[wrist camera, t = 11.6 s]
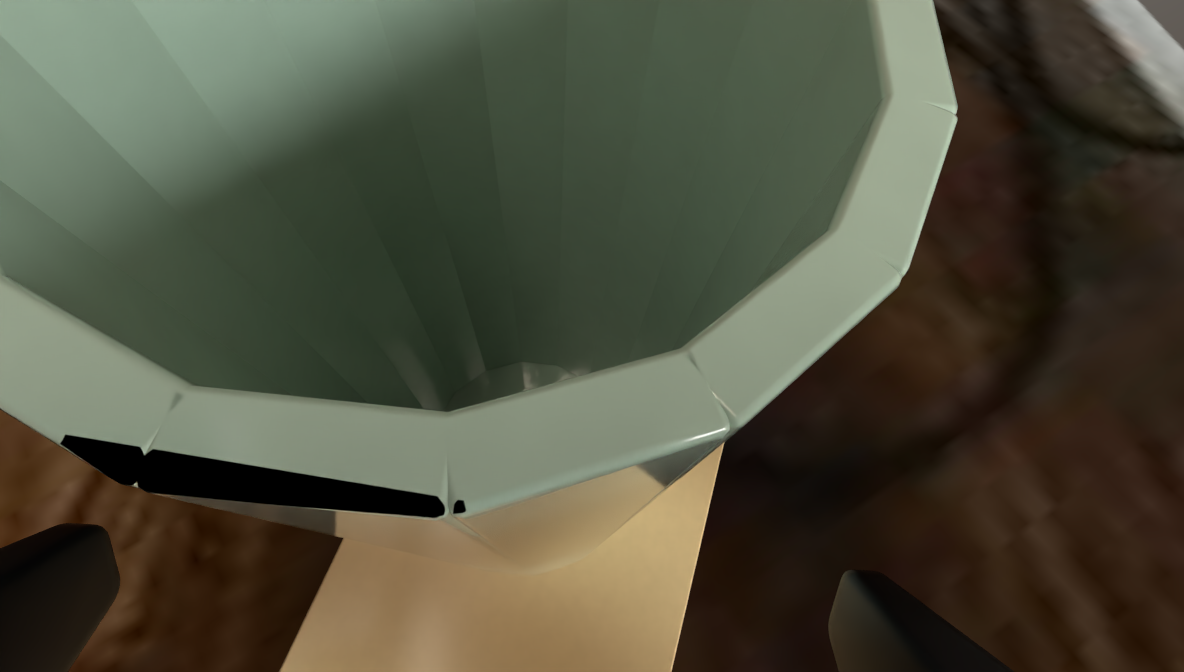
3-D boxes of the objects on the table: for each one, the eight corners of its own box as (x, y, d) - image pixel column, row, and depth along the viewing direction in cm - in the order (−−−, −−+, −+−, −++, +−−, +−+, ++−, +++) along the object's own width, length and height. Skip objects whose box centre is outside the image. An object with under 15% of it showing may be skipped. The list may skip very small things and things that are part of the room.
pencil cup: (506, 627, 13) (153, 957, 1) (377, 444, 15) (-309, -119, 3) (677, 474, 15) (1147, 61, 3) (546, 324, 17) (536, -336, 5)
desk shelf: (504, 1205, 13) (482, 1500, 9) (163, 1056, 13) (-9, 1266, 9) (706, 397, 21) (745, 350, 17) (489, 325, 21) (474, 264, 17)
